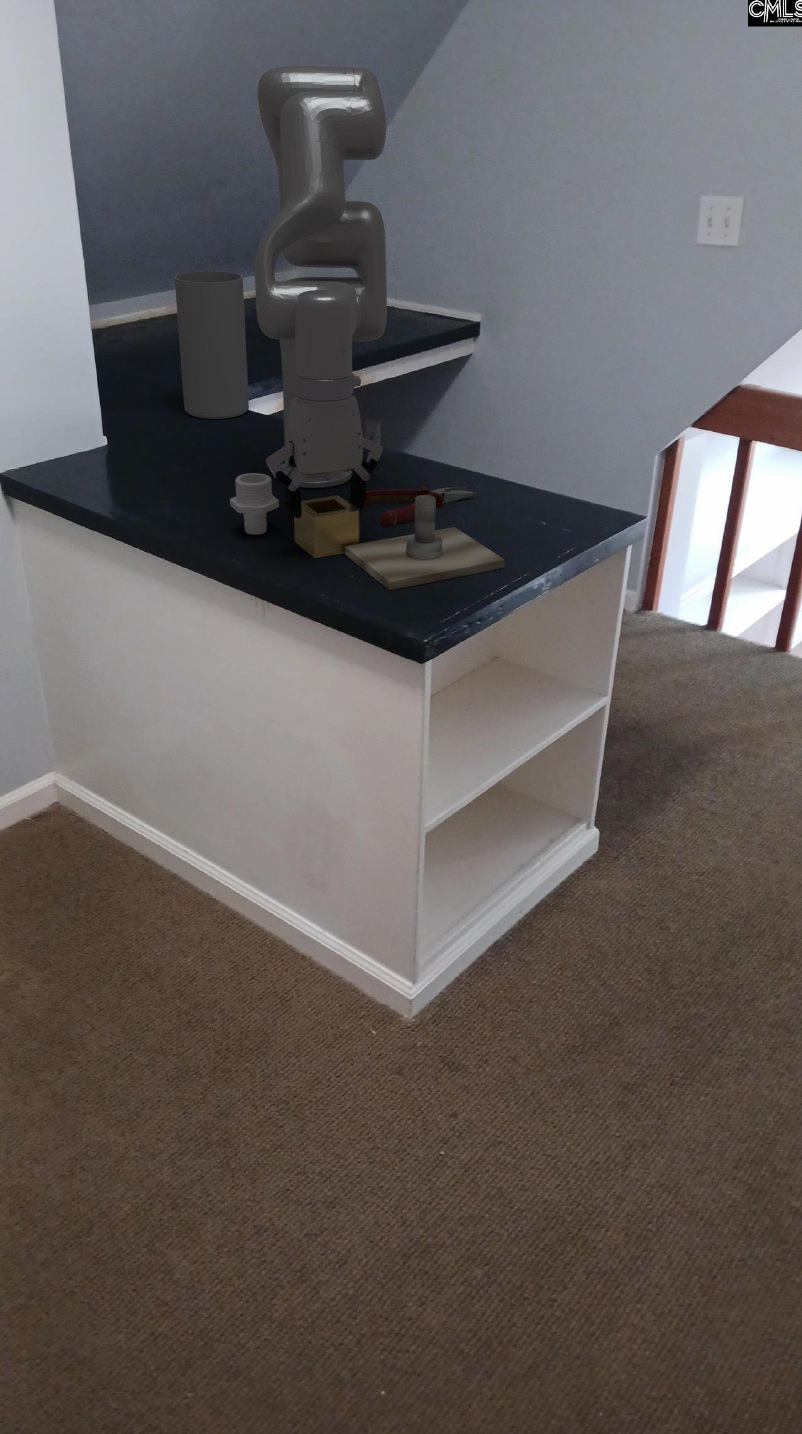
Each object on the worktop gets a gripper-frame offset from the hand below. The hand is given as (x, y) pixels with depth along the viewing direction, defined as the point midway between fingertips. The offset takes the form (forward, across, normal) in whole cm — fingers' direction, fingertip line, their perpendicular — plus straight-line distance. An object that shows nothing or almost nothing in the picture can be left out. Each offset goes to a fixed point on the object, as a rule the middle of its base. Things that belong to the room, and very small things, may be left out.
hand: (326, 510), depth 165 cm
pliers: (+6, -20, -9) cm, 23 cm away
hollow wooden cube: (+6, 0, -1) cm, 6 cm away
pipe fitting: (+6, +7, -11) cm, 14 cm away
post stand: (+6, -10, +10) cm, 16 cm away
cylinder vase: (+3, -10, -74) cm, 75 cm away
